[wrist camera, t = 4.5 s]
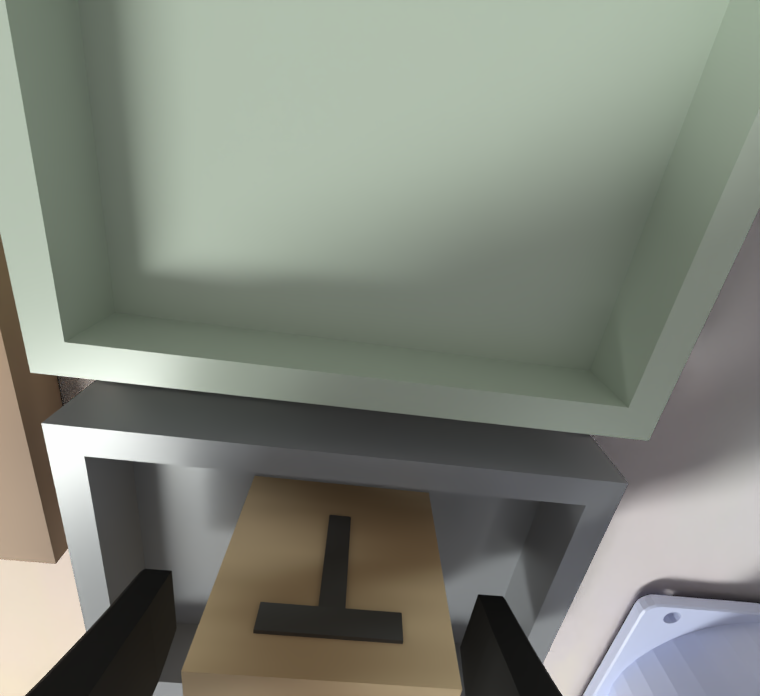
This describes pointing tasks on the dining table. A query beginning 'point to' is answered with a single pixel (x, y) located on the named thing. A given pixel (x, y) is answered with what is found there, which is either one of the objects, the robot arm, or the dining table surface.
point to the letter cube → (327, 598)
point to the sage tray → (380, 198)
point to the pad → (25, 446)
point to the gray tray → (329, 465)
